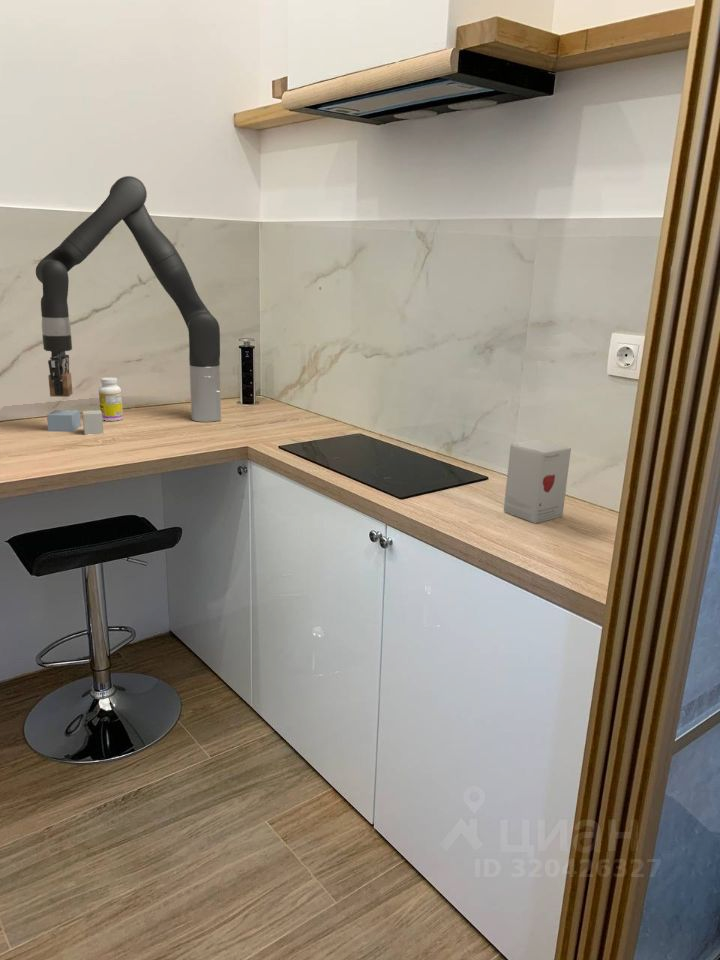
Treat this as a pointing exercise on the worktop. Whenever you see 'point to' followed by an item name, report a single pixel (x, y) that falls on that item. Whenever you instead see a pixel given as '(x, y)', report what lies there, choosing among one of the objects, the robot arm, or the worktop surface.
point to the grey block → (92, 422)
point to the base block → (64, 420)
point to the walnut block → (66, 386)
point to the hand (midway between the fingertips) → (61, 392)
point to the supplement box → (536, 480)
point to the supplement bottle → (110, 400)
